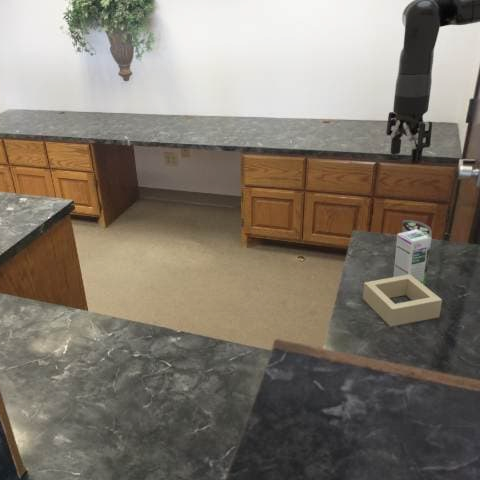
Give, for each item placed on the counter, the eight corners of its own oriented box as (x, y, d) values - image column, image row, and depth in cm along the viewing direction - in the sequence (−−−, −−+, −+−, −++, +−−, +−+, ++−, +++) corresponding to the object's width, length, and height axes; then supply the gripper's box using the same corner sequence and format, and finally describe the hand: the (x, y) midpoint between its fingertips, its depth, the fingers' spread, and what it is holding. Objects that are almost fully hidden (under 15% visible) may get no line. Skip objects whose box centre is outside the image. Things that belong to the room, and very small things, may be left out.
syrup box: (407, 290, 133) (413, 241, 126) (391, 280, 138) (397, 232, 132) (425, 285, 134) (432, 236, 128) (409, 275, 139) (416, 227, 133)
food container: (434, 270, 140) (439, 237, 136) (410, 270, 141) (414, 238, 137) (421, 249, 151) (425, 218, 147) (398, 249, 152) (402, 219, 148)
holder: (362, 298, 132) (364, 282, 129) (407, 290, 133) (410, 274, 131) (390, 326, 120) (392, 309, 118) (439, 317, 122) (442, 299, 119)
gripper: (447, 95, 114) (437, 164, 121) (409, 85, 126) (402, 148, 133) (416, 99, 113) (407, 169, 120) (380, 89, 126) (375, 152, 133)
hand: (404, 158), depth 127 cm, fingers open, 8 cm apart
